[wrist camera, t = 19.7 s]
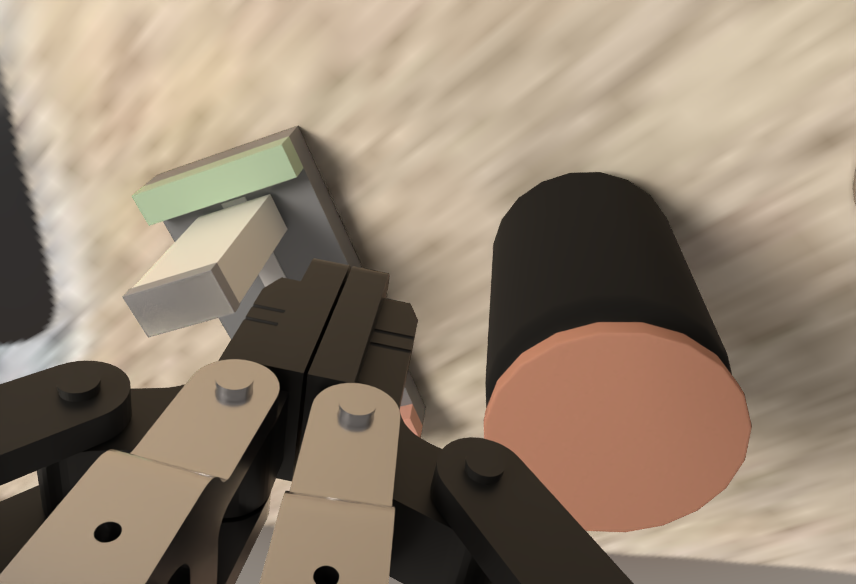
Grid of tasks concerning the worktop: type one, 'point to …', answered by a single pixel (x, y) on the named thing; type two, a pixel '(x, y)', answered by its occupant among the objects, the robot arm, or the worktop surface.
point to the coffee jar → (608, 358)
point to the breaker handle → (207, 267)
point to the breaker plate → (296, 202)
